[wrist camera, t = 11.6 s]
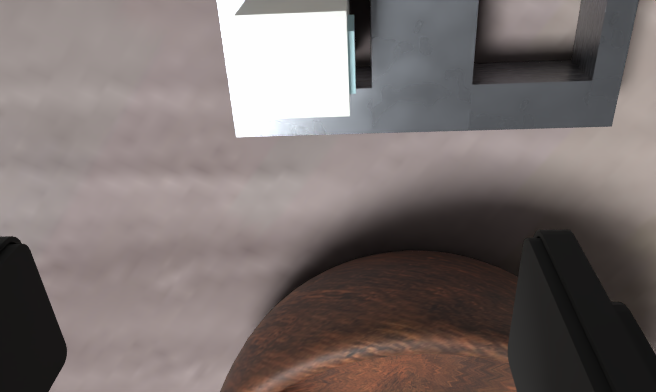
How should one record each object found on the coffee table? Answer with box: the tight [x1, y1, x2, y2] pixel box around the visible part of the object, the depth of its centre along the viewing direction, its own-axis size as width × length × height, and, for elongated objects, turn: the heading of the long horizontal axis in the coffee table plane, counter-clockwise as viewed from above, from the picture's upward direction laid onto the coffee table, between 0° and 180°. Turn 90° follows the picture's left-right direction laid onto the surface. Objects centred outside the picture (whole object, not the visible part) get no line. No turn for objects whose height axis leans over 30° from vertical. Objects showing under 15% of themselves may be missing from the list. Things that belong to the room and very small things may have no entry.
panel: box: [217, 0, 639, 137], centre depth 27 cm, size 18×10×3 cm, turn 93°
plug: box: [234, 0, 356, 119], centre depth 25 cm, size 4×4×8 cm
